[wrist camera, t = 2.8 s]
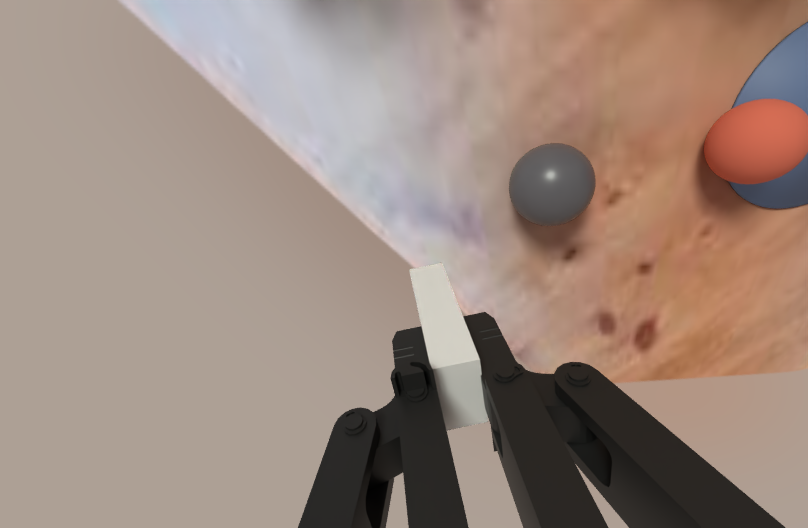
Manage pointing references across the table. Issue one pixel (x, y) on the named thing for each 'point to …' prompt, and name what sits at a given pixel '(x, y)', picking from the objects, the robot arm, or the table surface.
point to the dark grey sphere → (552, 184)
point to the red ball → (757, 141)
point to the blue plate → (790, 81)
